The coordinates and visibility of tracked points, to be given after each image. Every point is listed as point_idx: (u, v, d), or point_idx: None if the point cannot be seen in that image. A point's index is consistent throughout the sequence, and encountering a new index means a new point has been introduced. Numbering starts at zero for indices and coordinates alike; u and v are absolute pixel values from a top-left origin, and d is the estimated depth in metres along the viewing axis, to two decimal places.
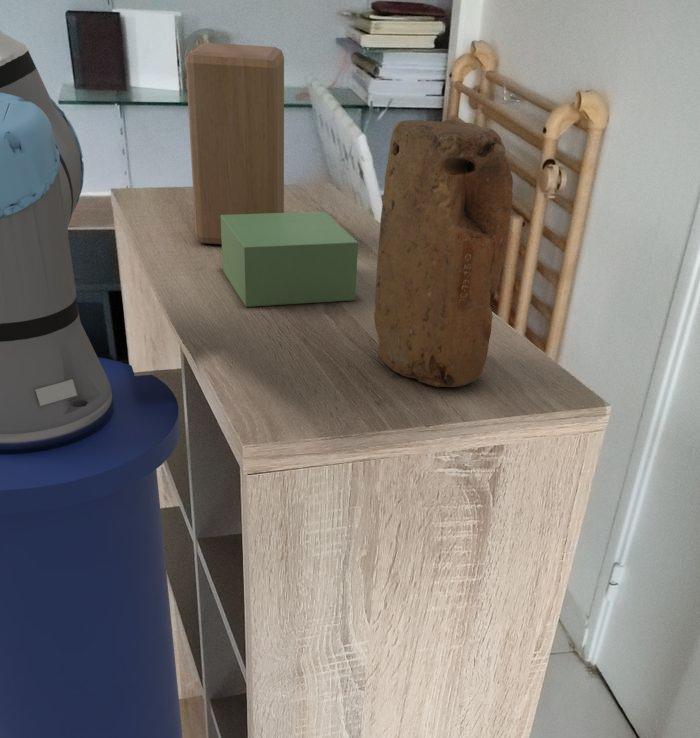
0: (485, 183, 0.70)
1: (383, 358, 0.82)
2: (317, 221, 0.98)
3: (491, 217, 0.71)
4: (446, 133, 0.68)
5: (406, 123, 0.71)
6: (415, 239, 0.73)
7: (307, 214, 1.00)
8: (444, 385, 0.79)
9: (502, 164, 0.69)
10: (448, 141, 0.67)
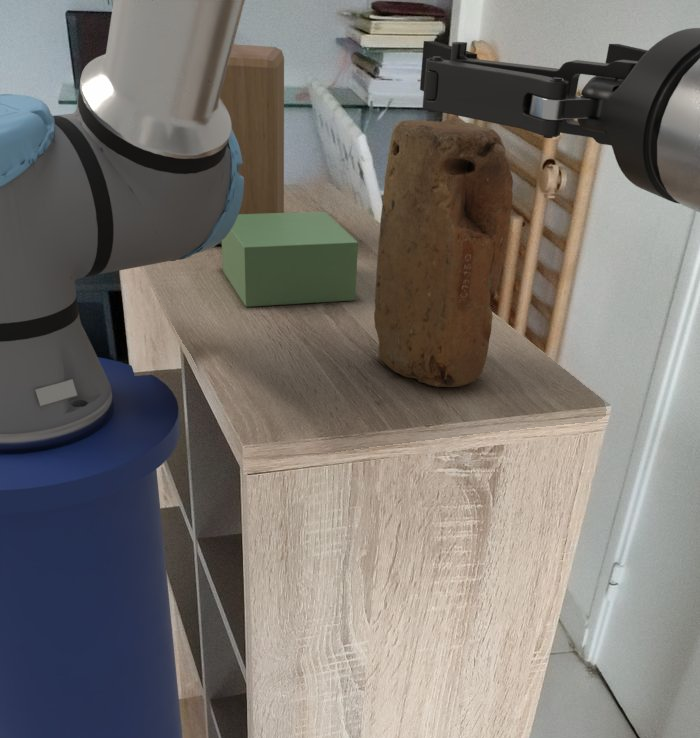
0: (485, 183, 0.70)
1: (383, 358, 0.82)
2: (317, 221, 0.98)
3: (491, 217, 0.71)
4: (446, 133, 0.68)
5: (406, 123, 0.71)
6: (415, 239, 0.73)
7: (307, 214, 1.00)
8: (444, 385, 0.79)
9: (502, 164, 0.69)
10: (448, 141, 0.67)
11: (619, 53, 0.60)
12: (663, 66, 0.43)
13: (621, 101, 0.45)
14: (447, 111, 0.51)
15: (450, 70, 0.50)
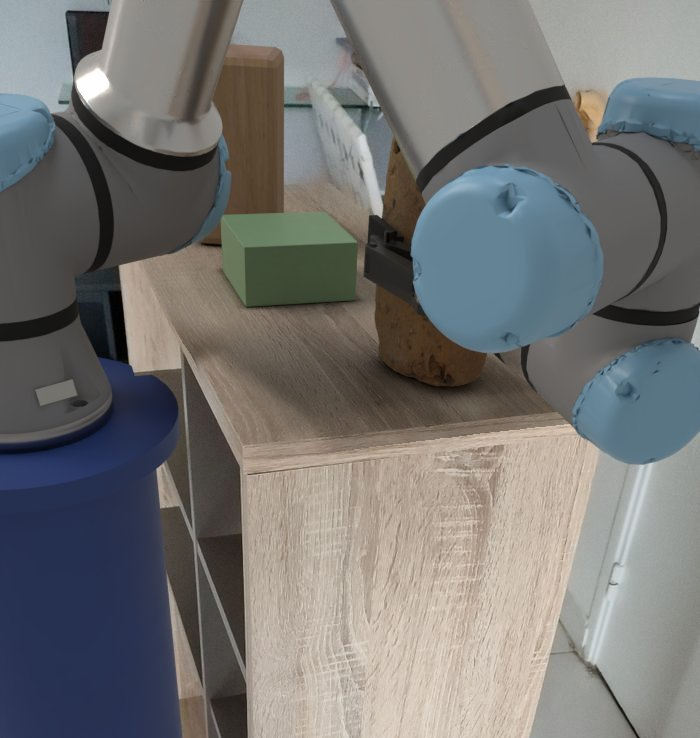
0: None
1: (383, 357, 0.82)
2: (317, 221, 0.98)
3: None
4: None
5: None
6: None
7: (307, 214, 1.00)
8: (443, 385, 0.79)
9: None
10: None
11: None
12: None
13: None
14: (375, 282, 0.70)
15: (376, 255, 0.69)
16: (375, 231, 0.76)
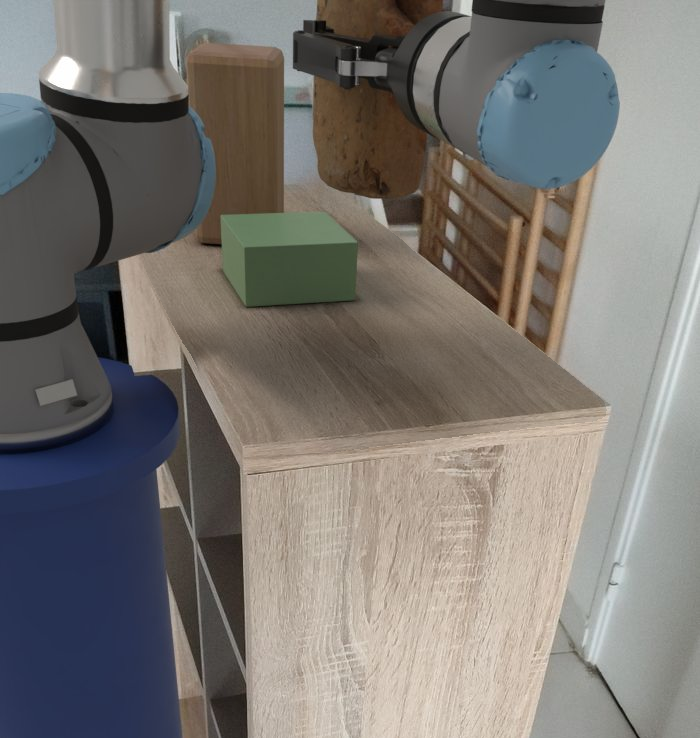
0: None
1: (321, 175, 0.81)
2: (317, 221, 0.98)
3: (422, 8, 0.71)
4: None
5: None
6: (347, 33, 0.72)
7: (307, 214, 1.00)
8: (379, 196, 0.78)
9: None
10: None
11: None
12: (417, 38, 0.60)
13: (395, 64, 0.62)
14: (302, 70, 0.70)
15: (302, 40, 0.69)
16: (309, 34, 0.75)
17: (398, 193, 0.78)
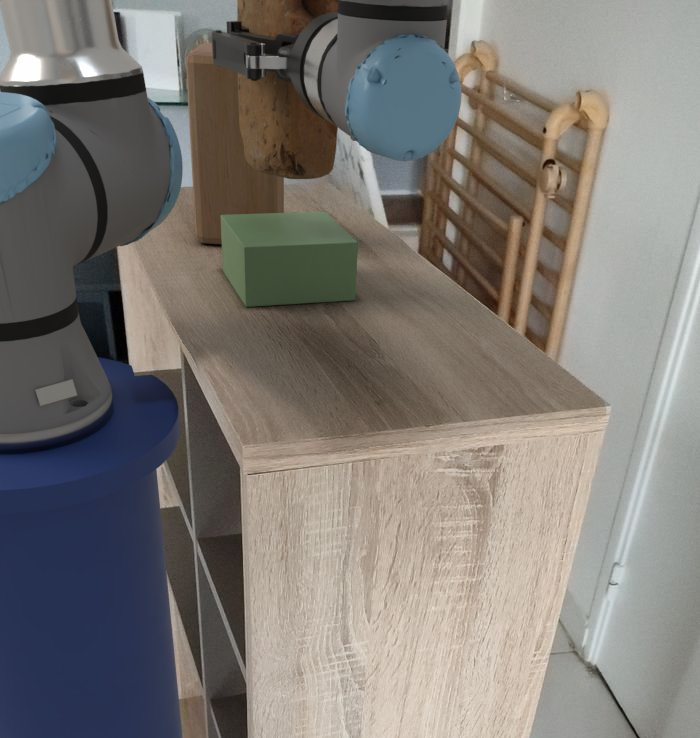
0: None
1: (247, 159, 0.91)
2: (317, 221, 0.98)
3: (326, 9, 0.81)
4: None
5: None
6: (262, 32, 0.82)
7: (307, 214, 1.00)
8: (297, 177, 0.88)
9: None
10: None
11: None
12: (307, 35, 0.70)
13: (292, 58, 0.72)
14: (220, 65, 0.80)
15: (219, 38, 0.79)
16: (230, 33, 0.85)
17: (313, 174, 0.88)
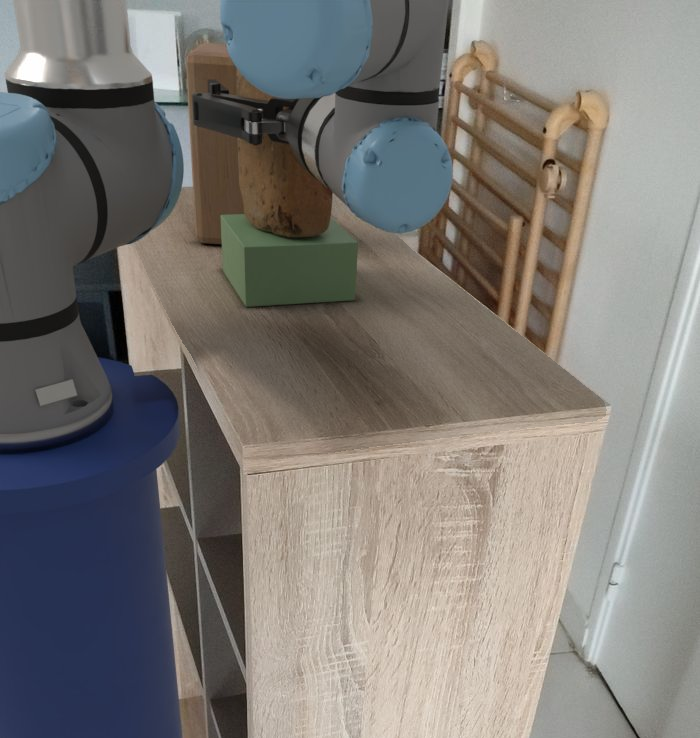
0: None
1: (247, 217, 0.95)
2: None
3: None
4: None
5: None
6: None
7: None
8: (294, 236, 0.91)
9: None
10: None
11: None
12: (305, 104, 0.73)
13: (290, 124, 0.75)
14: (205, 127, 0.81)
15: (203, 101, 0.80)
16: None
17: (309, 233, 0.91)
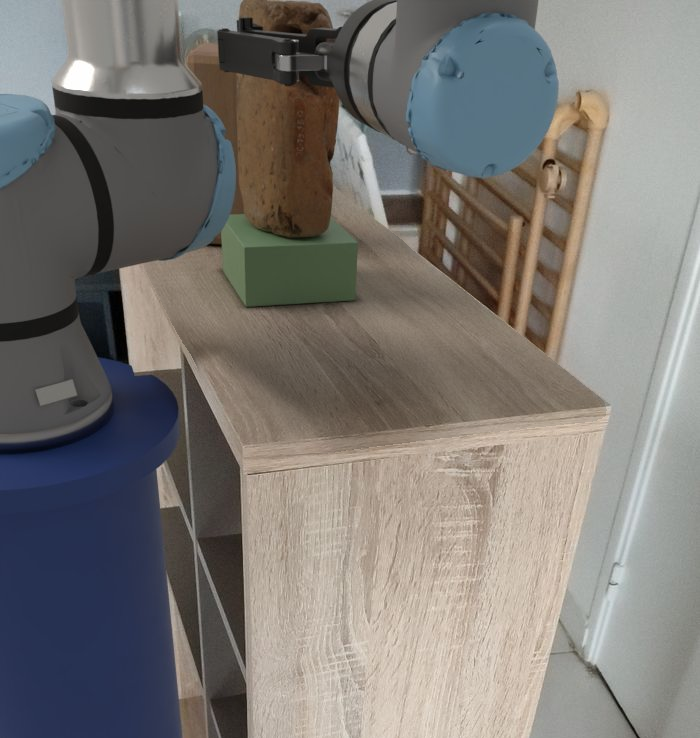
0: None
1: (247, 217, 0.95)
2: None
3: None
4: (275, 3, 0.80)
5: None
6: (259, 101, 0.86)
7: None
8: (294, 236, 0.91)
9: None
10: (276, 9, 0.80)
11: None
12: (353, 25, 0.57)
13: (334, 55, 0.59)
14: (232, 70, 0.65)
15: (230, 38, 0.64)
16: None
17: (309, 233, 0.91)
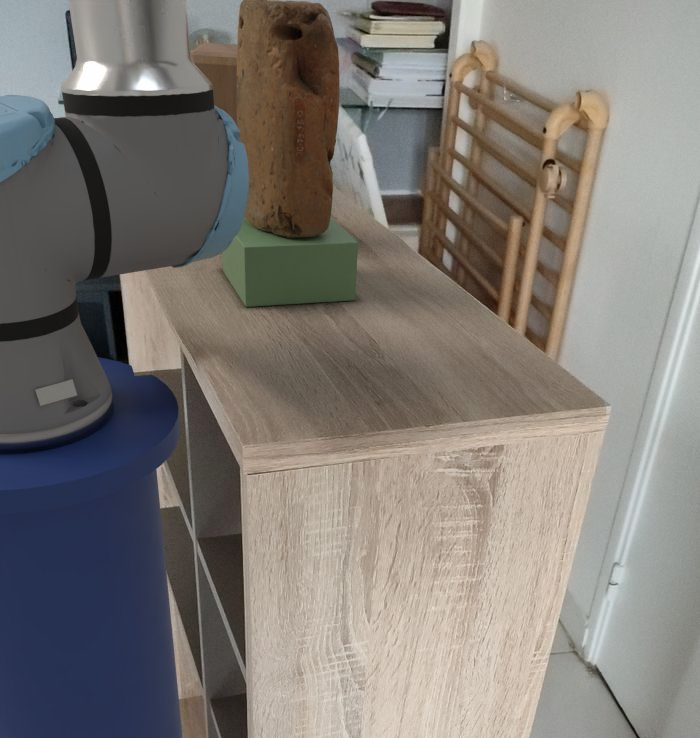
0: (314, 49, 0.83)
1: (247, 217, 0.95)
2: None
3: (321, 80, 0.84)
4: (275, 3, 0.80)
5: None
6: (259, 101, 0.86)
7: None
8: (294, 236, 0.91)
9: (326, 32, 0.82)
10: (276, 9, 0.80)
11: None
12: None
13: None
14: None
15: None
16: None
17: (309, 233, 0.91)
